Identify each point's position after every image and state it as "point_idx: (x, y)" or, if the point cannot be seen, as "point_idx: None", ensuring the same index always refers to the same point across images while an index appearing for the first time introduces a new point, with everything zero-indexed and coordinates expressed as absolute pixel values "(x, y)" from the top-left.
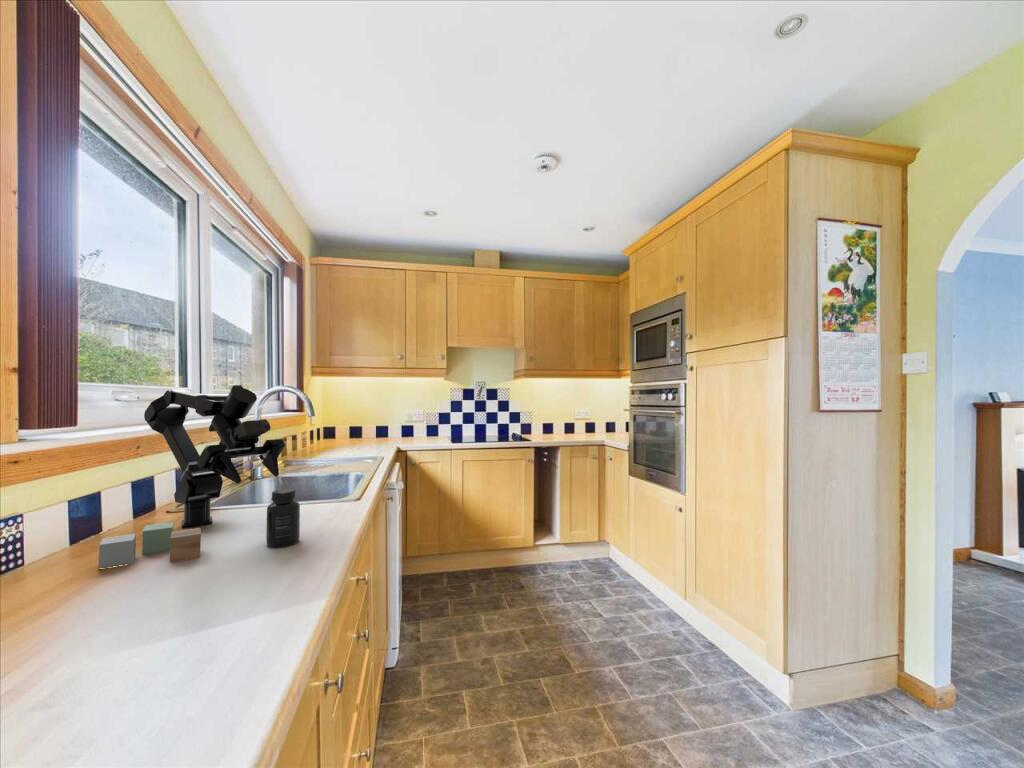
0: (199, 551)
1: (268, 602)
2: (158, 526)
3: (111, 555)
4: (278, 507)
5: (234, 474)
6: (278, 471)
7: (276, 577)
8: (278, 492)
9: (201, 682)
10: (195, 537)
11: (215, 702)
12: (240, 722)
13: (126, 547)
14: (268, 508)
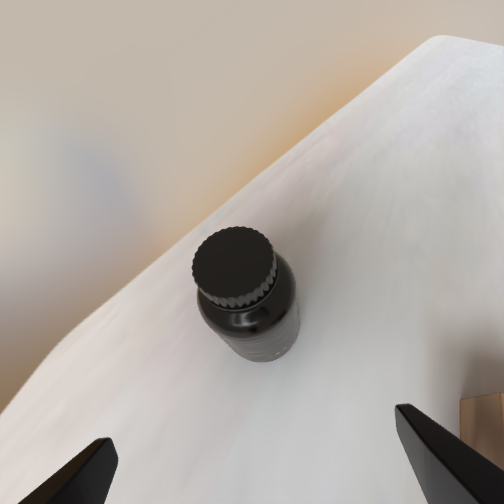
0: (470, 398)
1: (381, 136)
2: None
3: None
4: (276, 253)
5: (478, 458)
6: (80, 453)
7: (348, 184)
8: (259, 247)
9: (459, 72)
10: None
11: (450, 58)
12: (437, 45)
13: None
14: (293, 287)
